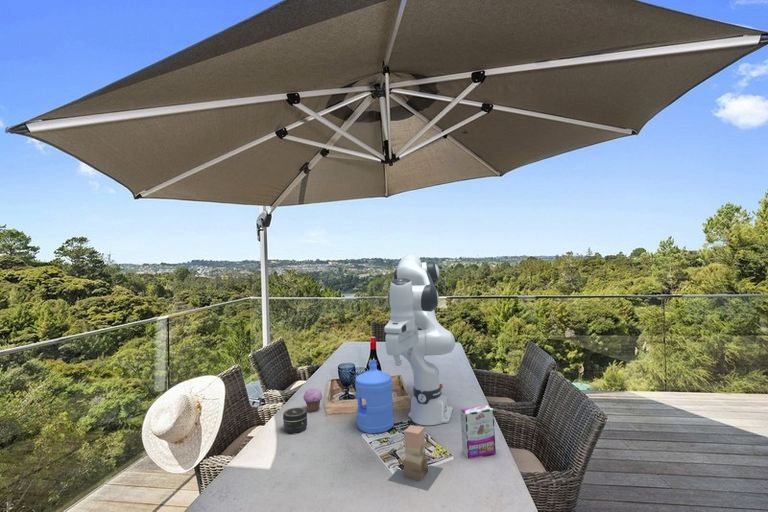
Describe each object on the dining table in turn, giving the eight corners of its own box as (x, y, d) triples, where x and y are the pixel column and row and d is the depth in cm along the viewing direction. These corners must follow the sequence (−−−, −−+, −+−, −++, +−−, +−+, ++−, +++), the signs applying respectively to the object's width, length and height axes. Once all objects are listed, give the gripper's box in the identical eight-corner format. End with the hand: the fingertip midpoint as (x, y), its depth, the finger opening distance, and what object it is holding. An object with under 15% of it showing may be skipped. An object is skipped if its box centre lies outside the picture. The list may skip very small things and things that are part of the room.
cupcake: (302, 408, 199) (301, 388, 199) (319, 405, 203) (318, 384, 202) (306, 415, 191) (305, 393, 191) (325, 411, 195) (324, 390, 194)
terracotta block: (411, 439, 140) (410, 424, 140) (424, 442, 138) (424, 427, 138) (404, 446, 136) (404, 431, 136) (419, 449, 134) (418, 433, 133)
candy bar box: (489, 448, 153) (487, 404, 153) (496, 454, 149) (494, 409, 148) (461, 453, 150) (459, 408, 150) (467, 459, 146) (466, 413, 145)
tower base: (411, 467, 141) (410, 453, 141) (427, 471, 138) (427, 456, 138) (404, 476, 136) (403, 461, 136) (420, 480, 133) (420, 465, 133)
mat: (405, 460, 147) (405, 459, 147) (443, 469, 140) (443, 468, 140) (387, 481, 134) (387, 480, 134) (427, 491, 128) (427, 490, 128)
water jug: (395, 418, 183) (392, 355, 183) (392, 434, 168) (389, 365, 167) (360, 418, 185) (357, 356, 184) (354, 434, 169) (351, 366, 169)
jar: (294, 436, 169) (293, 418, 169) (278, 431, 175) (277, 413, 175) (312, 427, 177) (311, 410, 177) (296, 422, 183) (295, 405, 183)
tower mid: (411, 454, 140) (411, 439, 140) (425, 457, 138) (424, 442, 138) (405, 461, 136) (404, 446, 136) (419, 464, 134) (418, 449, 134)
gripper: (406, 318, 160) (408, 354, 160) (381, 328, 142) (383, 368, 142) (421, 319, 157) (423, 355, 158) (398, 329, 139) (399, 370, 139)
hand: (404, 361), depth 150 cm, fingers open, 8 cm apart
